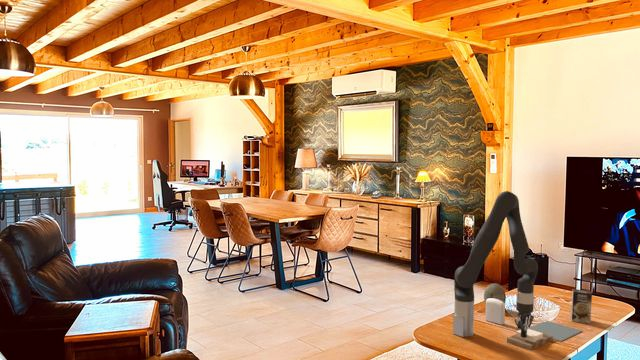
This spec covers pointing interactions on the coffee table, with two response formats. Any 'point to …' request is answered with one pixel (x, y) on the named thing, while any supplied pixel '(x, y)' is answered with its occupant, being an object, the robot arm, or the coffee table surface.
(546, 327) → the mat
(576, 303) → the coffee box
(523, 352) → the coffee table surface
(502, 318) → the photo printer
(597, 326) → the coffee table surface
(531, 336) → the tile
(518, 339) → the deck
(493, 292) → the decorative egg
